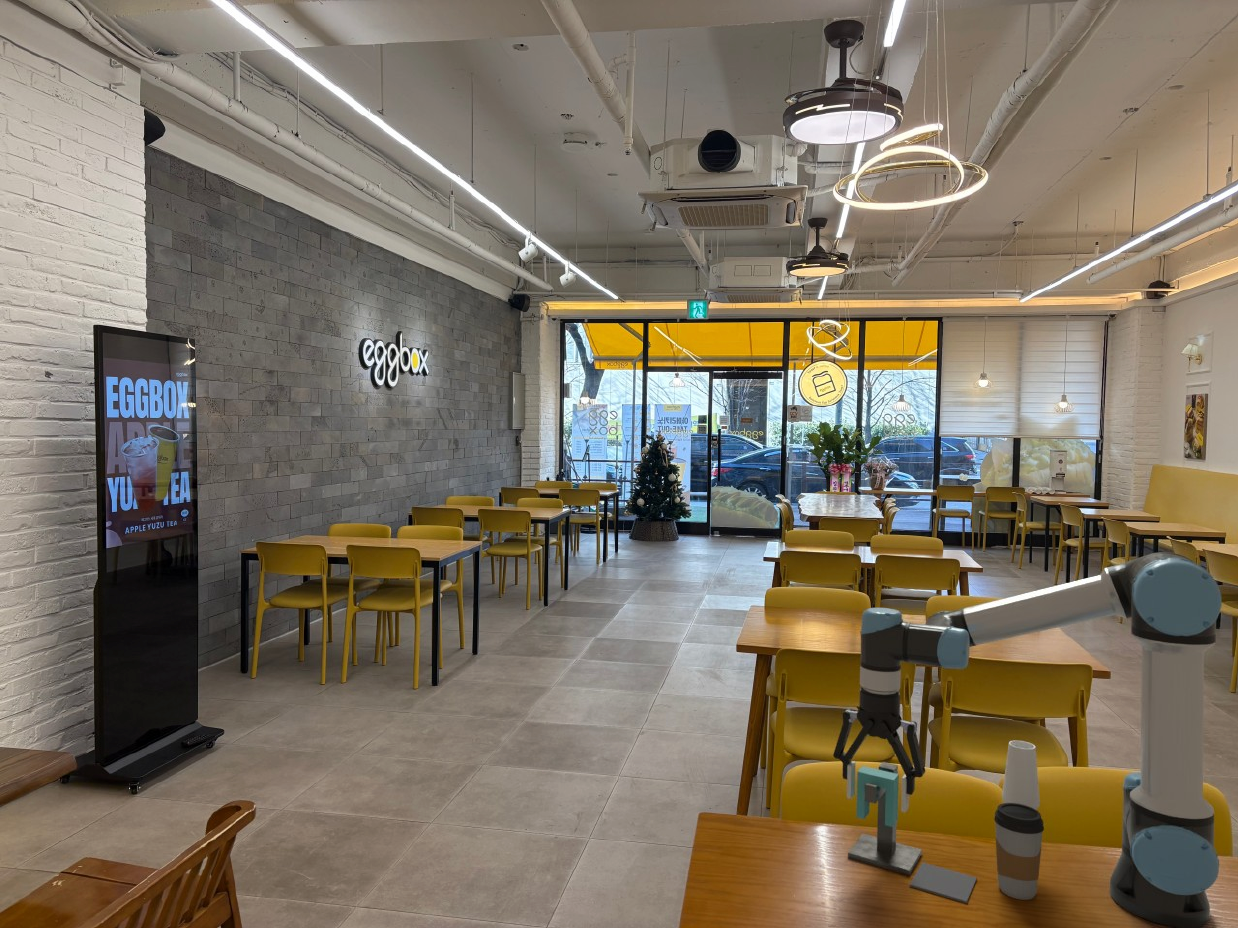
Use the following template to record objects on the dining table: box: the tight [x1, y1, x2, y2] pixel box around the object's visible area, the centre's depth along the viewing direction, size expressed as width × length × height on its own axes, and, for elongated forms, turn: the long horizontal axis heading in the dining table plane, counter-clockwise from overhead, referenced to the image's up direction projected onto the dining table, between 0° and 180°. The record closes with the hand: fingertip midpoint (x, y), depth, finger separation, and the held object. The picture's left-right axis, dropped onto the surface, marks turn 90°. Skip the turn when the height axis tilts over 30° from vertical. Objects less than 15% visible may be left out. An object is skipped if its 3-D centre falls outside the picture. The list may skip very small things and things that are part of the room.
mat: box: [909, 862, 978, 904], centre depth 153 cm, size 10×10×1 cm
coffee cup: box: [993, 802, 1045, 901], centre depth 150 cm, size 8×8×15 cm
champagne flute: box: [1001, 740, 1041, 811], centre depth 160 cm, size 7×7×24 cm
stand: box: [847, 761, 923, 876], centre depth 160 cm, size 12×16×18 cm
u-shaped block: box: [855, 765, 900, 827], centre depth 157 cm, size 7×4×9 cm, turn 57°
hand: (877, 802), depth 157 cm, fingers open, 10 cm apart
